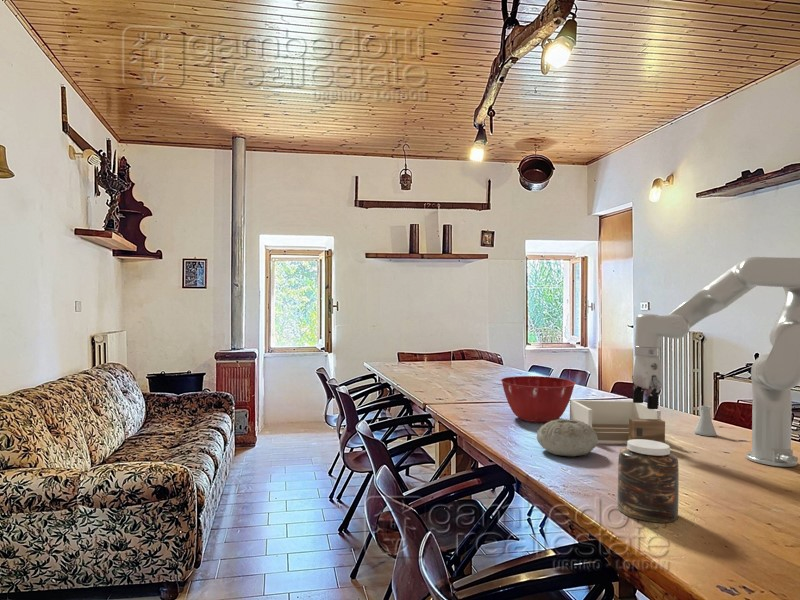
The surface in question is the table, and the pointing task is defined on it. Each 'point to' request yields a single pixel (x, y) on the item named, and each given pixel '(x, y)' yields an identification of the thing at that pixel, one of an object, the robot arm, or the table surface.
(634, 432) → the cardboard box
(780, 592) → the table surface
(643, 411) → the open white box
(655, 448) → the jar
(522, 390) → the mixing bowl
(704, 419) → the flask
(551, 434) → the decorative shell
